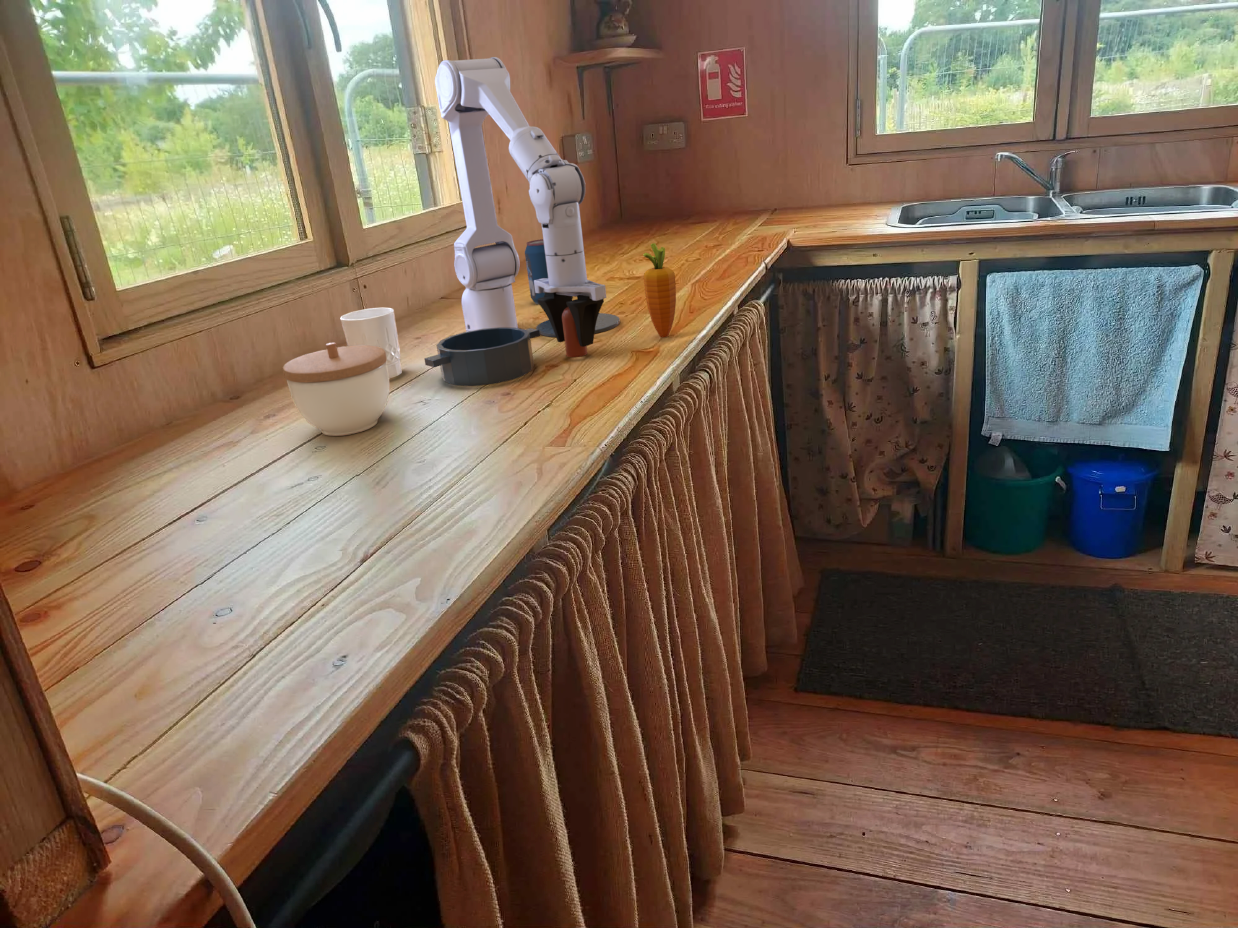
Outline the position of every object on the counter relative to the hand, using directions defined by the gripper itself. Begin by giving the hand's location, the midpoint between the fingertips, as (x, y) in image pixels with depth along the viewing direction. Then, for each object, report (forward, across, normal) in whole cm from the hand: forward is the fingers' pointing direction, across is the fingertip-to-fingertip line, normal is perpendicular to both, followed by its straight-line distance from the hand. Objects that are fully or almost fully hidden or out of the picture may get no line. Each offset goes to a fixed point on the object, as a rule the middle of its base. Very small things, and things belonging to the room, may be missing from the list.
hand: (575, 342), depth 133 cm
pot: (+2, -5, -13) cm, 14 cm away
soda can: (+2, -39, +25) cm, 46 cm away
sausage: (+2, 0, 0) cm, 2 cm away
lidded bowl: (+2, -2, -37) cm, 37 cm away
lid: (+2, -14, +12) cm, 19 cm away
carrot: (+2, +5, +14) cm, 15 cm away
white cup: (+2, -20, -23) cm, 31 cm away
